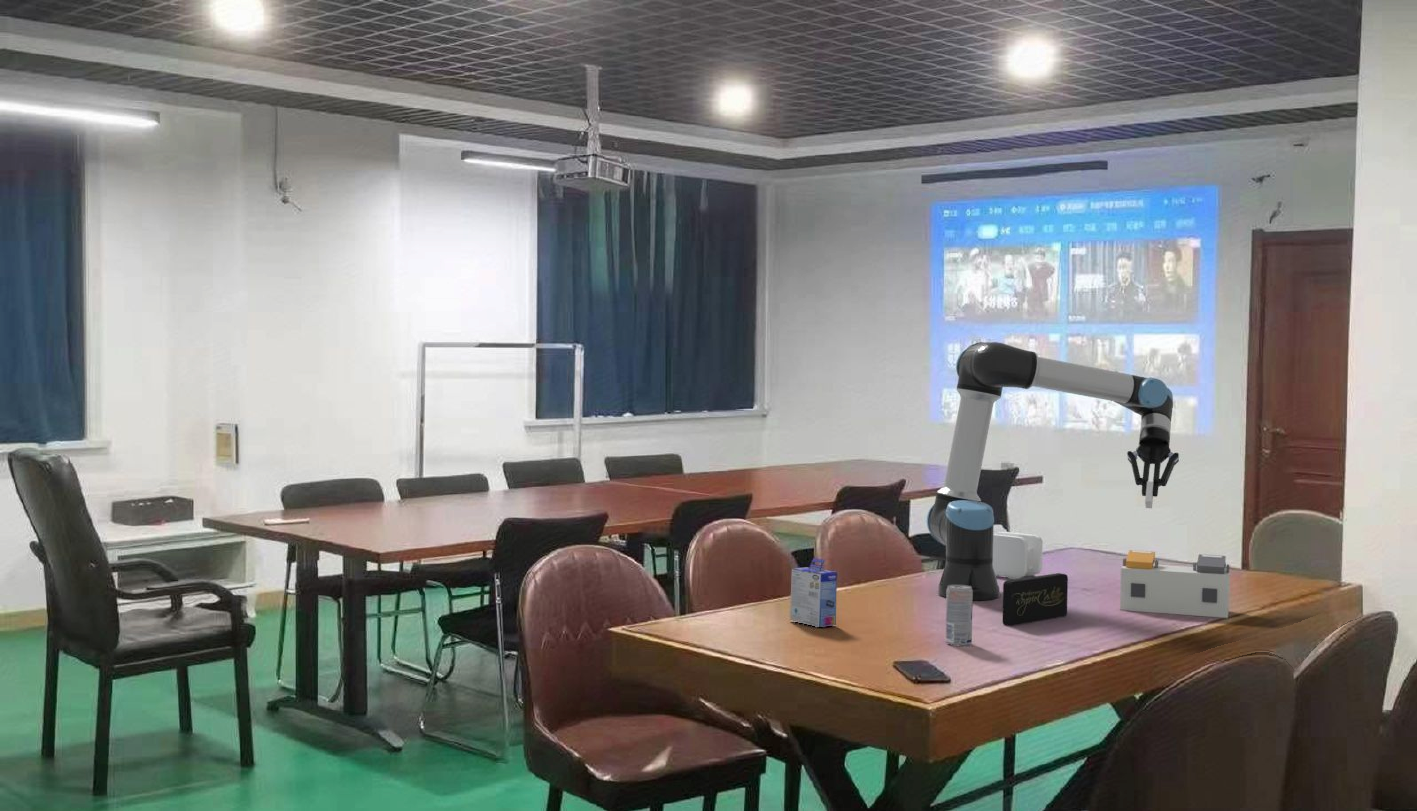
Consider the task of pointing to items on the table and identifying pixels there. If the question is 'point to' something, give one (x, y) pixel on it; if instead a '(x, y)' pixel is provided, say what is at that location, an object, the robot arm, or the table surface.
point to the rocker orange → (1140, 559)
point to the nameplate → (1034, 599)
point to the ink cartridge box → (813, 595)
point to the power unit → (1175, 590)
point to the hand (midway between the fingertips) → (1148, 504)
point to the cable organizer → (1017, 554)
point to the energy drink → (959, 615)
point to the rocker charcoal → (1211, 564)
